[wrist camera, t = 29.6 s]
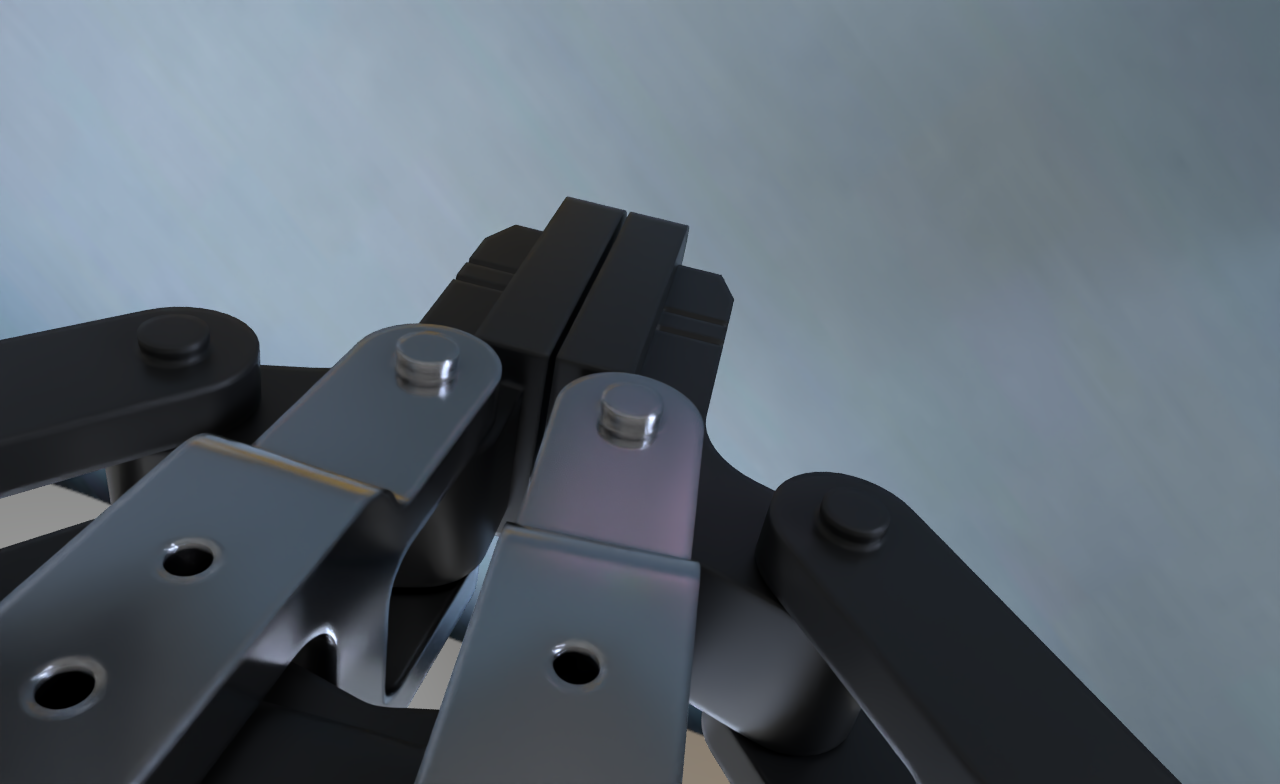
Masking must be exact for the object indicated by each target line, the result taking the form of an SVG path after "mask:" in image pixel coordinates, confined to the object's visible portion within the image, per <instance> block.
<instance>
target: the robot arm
mask: <svg viewBox="0 0 1280 784" xmlns="http://www.w3.org/2000/svg"><path fill="white" fill-rule="evenodd" d="M688 232H689V226H688V225H683V224H679V223H675V222H671V221H667V220H663V219H659V218H655V217H651V216H647V215H642V214H638V213H634V212H630V213H629V215H628V217H627V212H626V211H625V210H621V209H617V208H613V207H609V206H605V205H601V204H597V203H593V202H588V201H584V200H580V199H576V198H572V197H566V198H565V200H564V201H563V203H562V204H561V205H560V207H559V208H558V210H557V211H556V213H555V214H554V216H553V217H552V219H551V220H550V222H549V223H548V225H547V226H546V228H545V229H544V231H539V230H535V229H531V228H527V227H523V226H519V225H514V226H511V227H509V228H507V229H505V230H502V231H500V232H498V233H496V234H493V235H491V236H489V237H487V238H485V239H484V240H483V242H482V243H481V244H480V245H479V247H478V248H477V249H476V251H475V252H474V253H473V254H472V256H471V257H470V258H469V263H468V262H466V263H465V265H464V266H463V267H462V269H461V270H460V271H459V272H458V274H457V276H456V280H455V279H453V280H452V281H451V283H450V284H449V285H448V287H447V288H446V289H445V290H444V292H443V293H442V294H441V296H440V297H439V298H438V299H437V301H436V302H435V303H434V305H433V306H432V307H431V308H430V310H429V311H428V312H427V314H426V315H425V316H424V317H423V319H422V320H421V321H420V323H418V324H403V325H396V326H391V327H387V328H384V329H381V330H378V331H375V332H373V333H371V334H369V335H368V336H366V337H364V338H363V339H362V340H361V341H359V342H358V343H357V344H356V345H355V346H354V347H353V348H352V349H351V350H350V351H349V352H348V353H347V354H346V355H345V356H343V357H342V358H341V359H340V360H339V361H338V362H337V363H336V364H335V365H334V366H333V367H332V368H307V367H289V366H270V365H260V349H259V341H258V338H257V336H256V334H255V333H254V331H253V330H252V329H251V328H250V327H249V326H248V325H246V324H245V323H244V322H242V321H240V320H239V319H237V318H235V317H232V316H230V315H228V314H225V313H221V312H218V311H214V310H209V309H203V308H193V307H166V308H157V309H150V310H144V311H140V312H135V313H130V314H125V315H120V316H115V317H110V318H105V319H101V320H96V321H91V322H86V323H81V324H76V325H71V326H66V327H62V328H57V329H52V330H47V331H42V332H37V333H32V334H27V335H23V336H18V337H13V338H8V339H3V340H0V499H1V498H4V497H7V496H11V495H14V494H18V493H21V492H25V491H28V490H31V489H35V488H38V487H42V486H45V485H49V484H52V483H56V482H59V481H63V480H66V479H69V478H73V477H76V476H80V475H83V474H87V473H90V472H93V471H97V470H100V469H104V468H105V469H106V475H107V481H108V488H109V494H110V500H111V506H110V507H109V508H107V509H106V510H105V511H104V512H103V513H102V514H100V515H99V516H98V517H97V518H96V519H93V520H90V521H86V522H83V523H80V524H77V525H74V526H71V527H68V528H65V529H61V530H58V531H55V532H52V533H49V534H46V535H43V536H39V537H36V538H33V539H30V540H27V541H24V542H20V543H17V544H14V545H11V546H8V547H5V548H2V549H0V784H682V777H683V765H684V754H685V743H686V732H687V720H688V709H689V703H690V704H691V705H693V706H695V707H696V708H698V709H700V710H701V711H702V720H701V721H702V731H703V734H704V737H705V741H706V743H707V745H708V747H709V749H710V751H711V753H712V754H713V756H714V758H715V759H716V761H717V762H718V764H719V766H720V767H721V769H722V770H723V772H724V774H725V775H726V777H727V778H728V780H729V782H730V784H1182V783H1181V782H1180V781H1179V780H1178V779H1177V778H1176V777H1175V776H1174V775H1173V774H1172V773H1171V772H1170V771H1169V770H1168V769H1167V768H1166V767H1165V766H1164V765H1163V764H1162V763H1161V762H1160V761H1159V760H1158V759H1157V758H1156V757H1155V756H1154V755H1153V754H1152V753H1151V752H1150V751H1149V750H1148V749H1147V748H1146V747H1145V746H1144V745H1143V744H1142V743H1141V742H1140V741H1139V740H1138V739H1137V738H1136V737H1135V736H1134V735H1133V734H1132V733H1131V732H1130V731H1129V729H1128V728H1127V727H1126V726H1125V725H1124V724H1123V723H1122V722H1121V721H1120V720H1119V719H1118V718H1117V717H1116V716H1115V715H1114V714H1113V713H1112V712H1111V711H1110V710H1109V709H1108V708H1107V707H1106V706H1105V705H1104V704H1103V703H1102V702H1101V701H1100V700H1099V699H1098V698H1097V697H1096V696H1095V695H1094V694H1093V693H1092V692H1091V691H1090V690H1089V689H1088V688H1087V687H1086V686H1085V685H1084V684H1083V683H1082V682H1081V681H1080V680H1079V679H1078V678H1077V677H1076V676H1075V675H1074V674H1073V673H1072V672H1071V670H1070V669H1069V668H1068V667H1067V666H1066V665H1065V664H1064V663H1063V662H1062V661H1061V660H1060V659H1059V658H1058V657H1057V656H1056V655H1055V654H1054V653H1053V652H1052V651H1051V650H1050V649H1049V648H1048V647H1047V646H1046V645H1045V644H1044V643H1043V642H1042V641H1041V640H1040V639H1039V638H1038V637H1037V636H1036V635H1035V634H1034V633H1033V632H1032V631H1031V630H1030V629H1029V628H1028V627H1027V626H1026V625H1025V624H1024V623H1023V622H1022V621H1021V620H1020V619H1019V618H1018V617H1017V616H1016V615H1015V614H1014V613H1013V611H1012V610H1011V609H1010V608H1009V607H1008V606H1007V605H1006V604H1005V603H1004V602H1003V601H1002V600H1001V599H1000V598H999V597H998V596H997V595H996V594H995V593H994V592H993V591H992V590H991V589H990V588H989V587H988V586H987V585H986V584H985V583H984V582H983V581H982V580H981V579H980V578H979V577H978V576H977V575H976V574H975V573H974V572H973V571H972V570H971V569H970V568H969V567H968V566H967V565H966V564H965V563H964V562H963V561H962V560H961V559H960V558H959V557H958V556H957V555H956V554H955V553H954V551H953V550H952V549H951V548H950V547H949V546H948V545H947V544H946V543H945V542H944V541H943V540H942V539H941V538H940V537H939V536H938V535H937V534H936V533H935V532H934V531H933V530H932V529H931V528H930V527H929V526H928V525H927V524H926V523H925V522H924V521H923V520H922V519H921V518H920V517H919V516H918V515H917V514H916V513H915V512H914V511H913V510H912V509H911V508H910V507H909V506H908V505H907V504H906V503H904V502H903V501H902V500H901V499H899V498H898V497H896V496H895V495H894V494H892V493H891V492H889V491H887V490H885V489H884V488H882V487H880V486H878V485H876V484H873V483H871V482H869V481H866V480H863V479H860V478H857V477H854V476H850V475H845V474H841V473H833V472H812V473H804V474H801V475H797V476H794V477H792V478H790V479H788V480H786V481H785V482H783V483H782V484H781V485H780V486H779V487H778V488H777V489H776V491H774V490H772V489H770V488H768V487H766V486H764V485H762V484H760V483H758V482H756V481H754V480H752V479H751V478H749V477H747V476H745V475H743V474H742V473H741V472H739V471H738V470H736V469H735V468H734V467H732V466H731V465H730V464H729V463H728V462H727V461H726V460H724V459H723V458H722V456H721V455H720V454H719V453H718V452H717V451H716V449H715V448H714V446H713V445H712V443H711V441H710V439H709V436H708V434H707V430H706V416H707V412H708V408H709V403H710V399H711V395H712V391H713V386H714V382H715V378H716V374H717V370H718V365H719V361H720V357H721V353H722V348H723V344H724V340H725V336H726V332H727V327H728V323H729V319H730V315H731V311H732V306H733V302H734V298H733V296H732V294H731V292H730V291H729V289H728V287H727V285H726V283H725V281H724V279H723V277H722V275H719V274H715V273H711V272H706V271H702V270H698V269H694V268H690V267H686V266H682V261H683V257H684V252H685V247H686V243H687V238H688ZM494 535H495V536H498V537H499V538H498V541H497V544H496V547H495V550H494V552H493V555H492V558H491V561H490V564H489V567H488V570H487V573H486V576H485V579H484V582H483V585H482V587H481V590H480V593H479V596H478V599H477V602H476V605H475V608H474V611H473V614H472V617H471V620H470V622H469V625H468V628H467V631H466V634H465V637H464V640H463V643H462V646H461V649H460V652H459V655H458V657H457V661H456V663H455V666H454V669H453V672H452V675H451V678H450V681H449V684H448V687H447V689H446V692H445V695H444V698H443V701H442V705H441V707H440V710H434V709H414V708H407V707H408V706H409V704H410V702H411V700H412V699H413V697H414V695H415V694H416V692H417V690H418V688H419V687H420V685H421V683H422V682H423V680H424V678H425V676H426V675H427V673H428V671H429V669H430V668H431V666H432V664H433V663H434V661H435V659H436V658H437V655H438V654H439V652H440V651H441V649H442V647H443V645H444V644H445V642H446V640H447V639H448V637H449V635H450V634H451V632H452V630H453V628H454V627H455V625H456V623H457V622H458V620H459V618H460V616H461V615H462V613H463V611H464V610H465V608H466V606H467V604H468V603H469V601H470V599H471V598H472V596H473V594H474V591H475V589H476V585H477V580H478V571H479V564H480V563H481V561H482V560H483V558H484V556H485V555H486V552H487V550H488V548H489V546H490V544H491V542H492V540H493V538H494Z"/></svg>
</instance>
